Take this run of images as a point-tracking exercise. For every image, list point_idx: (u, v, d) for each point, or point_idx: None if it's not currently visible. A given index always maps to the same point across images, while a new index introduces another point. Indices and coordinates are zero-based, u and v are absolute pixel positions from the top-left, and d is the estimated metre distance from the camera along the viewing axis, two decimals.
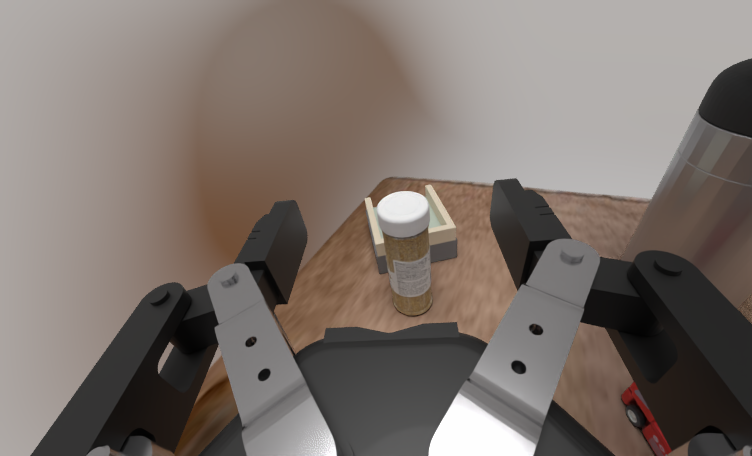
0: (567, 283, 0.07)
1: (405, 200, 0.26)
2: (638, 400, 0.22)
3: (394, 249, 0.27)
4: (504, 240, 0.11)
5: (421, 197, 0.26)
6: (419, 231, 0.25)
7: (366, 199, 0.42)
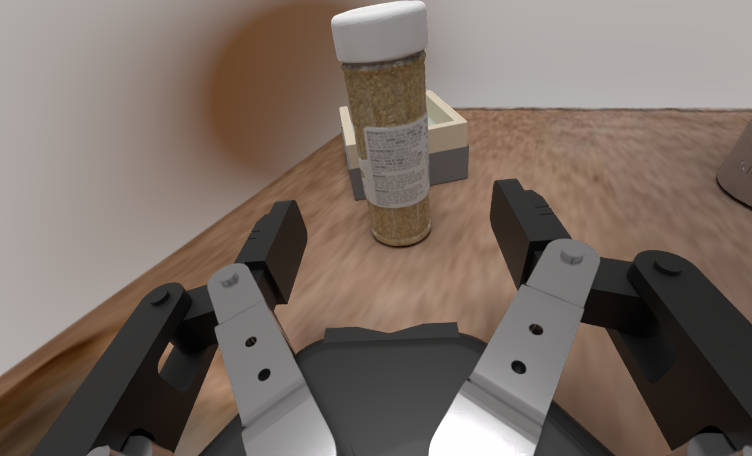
0: (567, 283, 0.07)
1: (383, 6, 0.14)
2: None
3: (364, 100, 0.15)
4: (504, 240, 0.11)
5: (412, 1, 0.15)
6: (407, 49, 0.14)
7: (341, 108, 0.31)
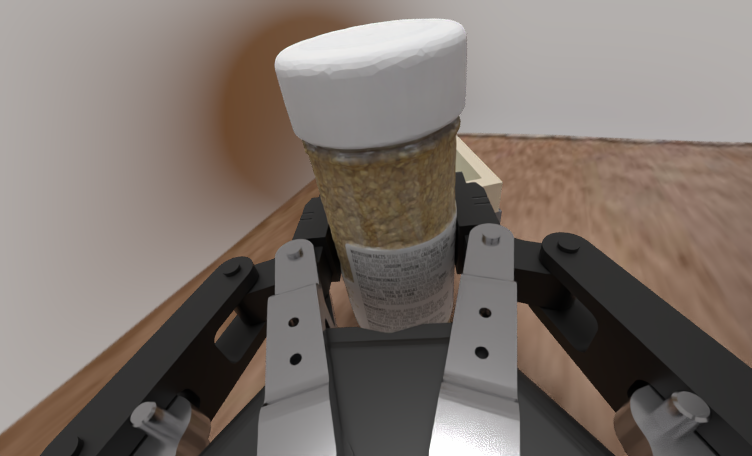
0: (495, 263, 0.08)
1: (380, 29, 0.07)
2: None
3: (345, 206, 0.08)
4: None
5: (436, 19, 0.07)
6: (430, 124, 0.06)
7: None
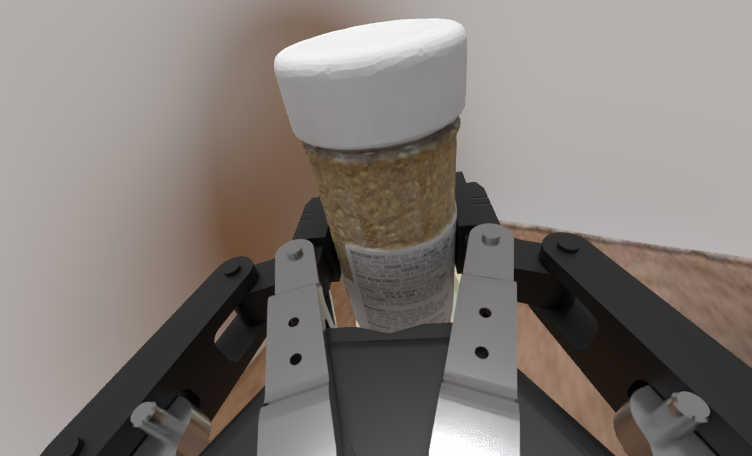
0: (495, 263, 0.08)
1: (379, 29, 0.07)
2: None
3: (344, 207, 0.08)
4: None
5: (436, 19, 0.07)
6: (430, 124, 0.06)
7: None
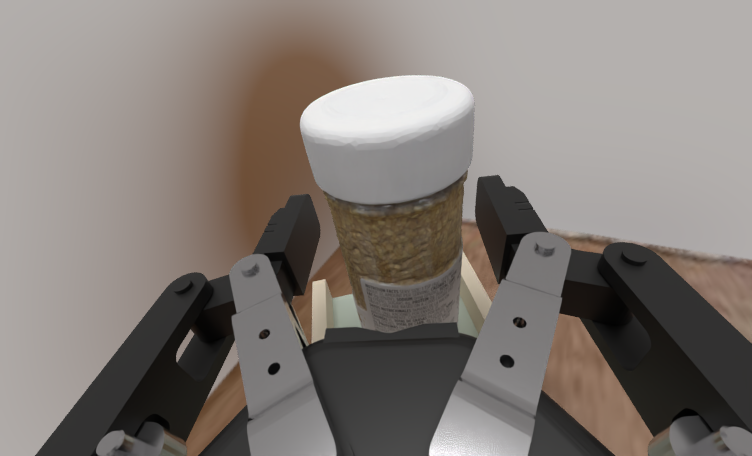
0: (543, 275, 0.07)
1: (394, 89, 0.08)
2: None
3: (362, 248, 0.09)
4: (486, 235, 0.11)
5: (445, 80, 0.08)
6: (442, 182, 0.07)
7: (316, 285, 0.19)
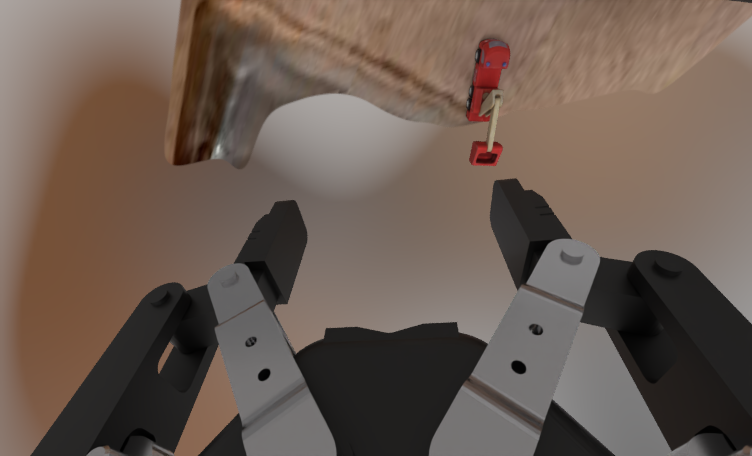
0: (567, 283, 0.07)
1: None
2: (481, 53, 0.38)
3: None
4: (504, 240, 0.11)
5: None
6: None
7: None
